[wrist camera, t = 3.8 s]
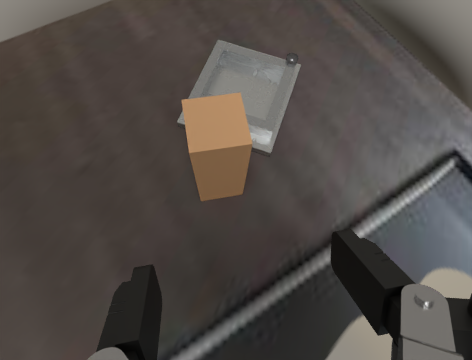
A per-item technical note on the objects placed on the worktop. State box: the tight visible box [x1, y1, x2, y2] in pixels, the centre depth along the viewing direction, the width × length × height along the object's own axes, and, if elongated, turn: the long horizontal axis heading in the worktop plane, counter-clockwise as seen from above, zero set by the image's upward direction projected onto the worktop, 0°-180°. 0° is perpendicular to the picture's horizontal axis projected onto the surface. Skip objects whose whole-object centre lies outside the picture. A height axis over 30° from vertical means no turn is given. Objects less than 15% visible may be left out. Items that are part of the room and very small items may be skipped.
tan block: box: [182, 92, 252, 201], centre depth 23 cm, size 4×4×10 cm
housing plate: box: [177, 40, 301, 157], centre depth 30 cm, size 12×10×3 cm
